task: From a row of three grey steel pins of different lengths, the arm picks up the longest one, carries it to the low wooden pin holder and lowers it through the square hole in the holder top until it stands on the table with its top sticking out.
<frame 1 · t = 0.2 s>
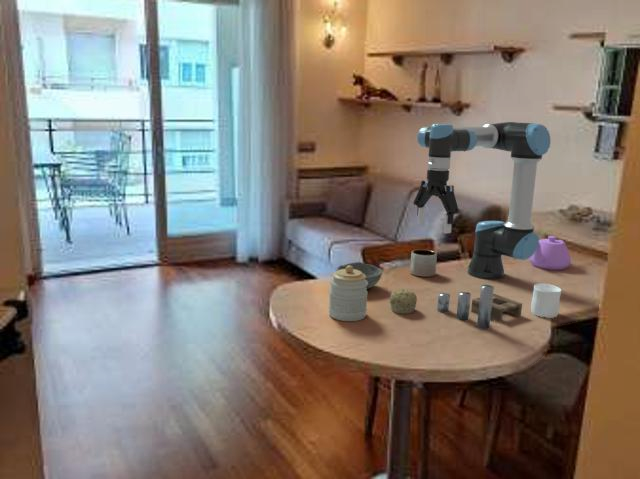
hand: (433, 229, 210), 28 cm above the table, fingers open, 13 cm apart
teapot: (547, 266, 271), on the table
long pin: (483, 327, 195), on the table
short pin: (442, 310, 210), on the table
decorative item: (402, 310, 209), on the table
cup: (543, 314, 210), on the table
medium pin: (462, 318, 203), on the table
wooden pin holder: (495, 313, 208), on the table
planter: (422, 274, 253), on the table
bowl: (358, 288, 232), on the table
jar: (347, 315, 202), on the table
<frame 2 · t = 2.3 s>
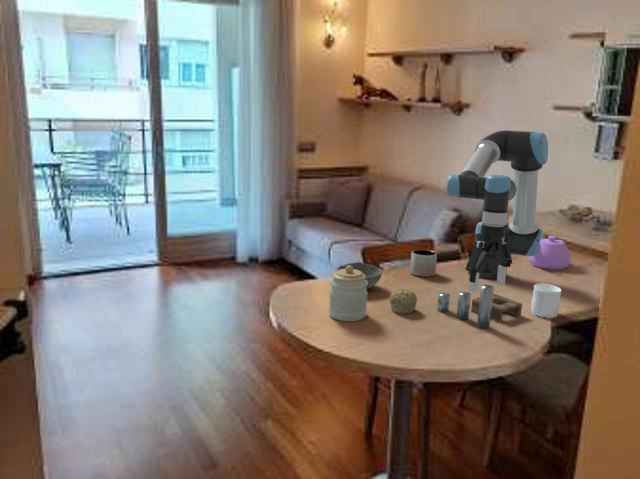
hand: (487, 288, 192), 13 cm above the table, fingers open, 13 cm apart
nothing on the table moved.
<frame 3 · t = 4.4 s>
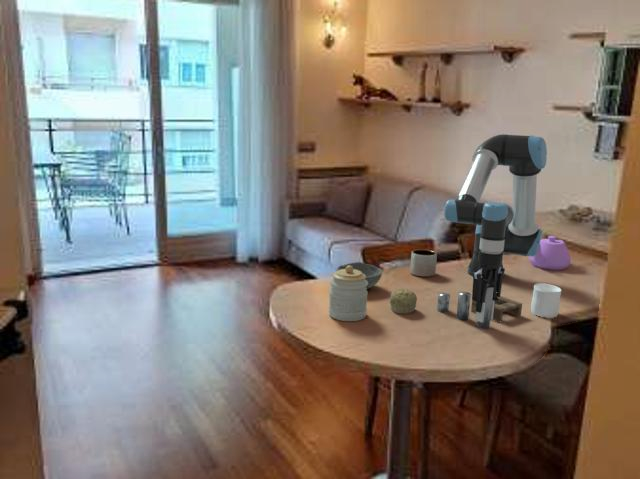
hand: (484, 319, 195), 3 cm above the table, fingers closed on long pin, 4 cm apart
long pin: (483, 326, 195), on the table, touching gripper
everything else where it was.
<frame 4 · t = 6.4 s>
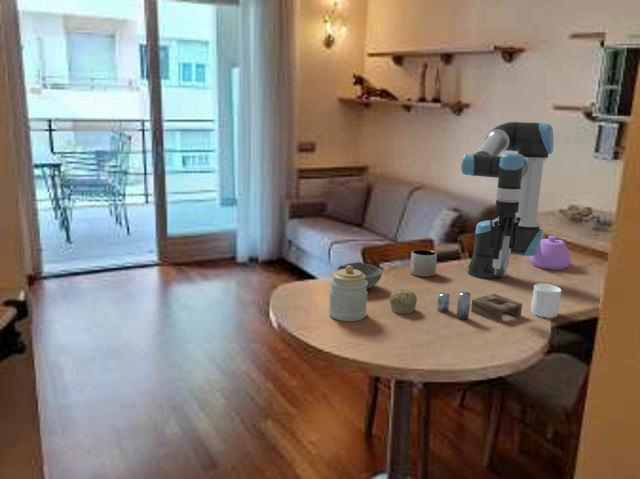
hand: (500, 266, 204), 17 cm above the table, fingers closed on long pin, 4 cm apart
long pin: (499, 274, 205), point 14 cm above the table, touching gripper
everything else where it was.
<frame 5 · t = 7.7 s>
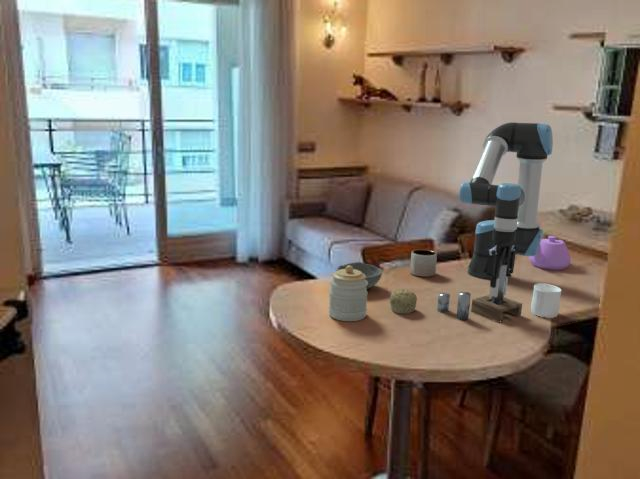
hand: (497, 294, 206), 7 cm above the table, fingers closed on long pin, 4 cm apart
long pin: (496, 302, 207), point 4 cm above the table, touching gripper
everything else where it was.
when the fingers open (6 cm above the table, at t = 8.5 s): long pin drops 3 cm, on the table.
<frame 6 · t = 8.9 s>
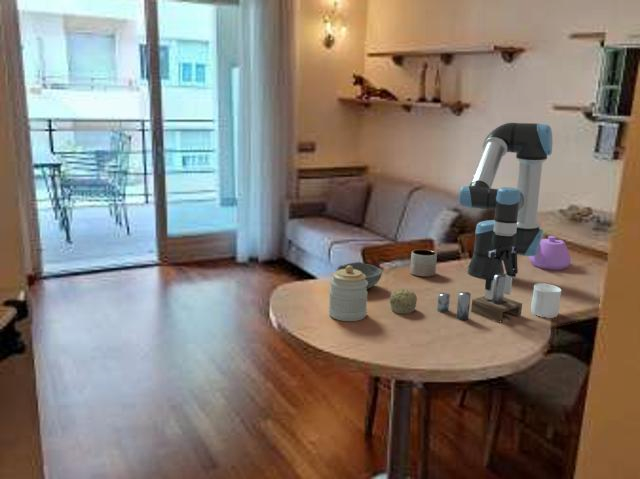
hand: (497, 296, 207), 7 cm above the table, fingers open, 9 cm apart
long pin: (495, 313, 208), on the table
everything else where it was.
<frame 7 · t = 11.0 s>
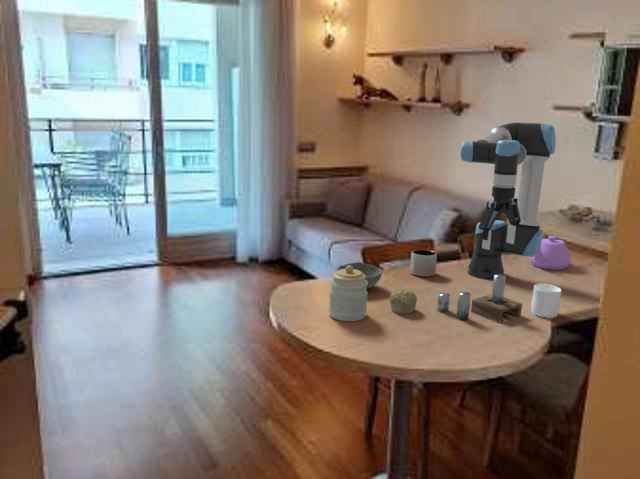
hand: (498, 245, 208), 23 cm above the table, fingers open, 13 cm apart
nothing on the table moved.
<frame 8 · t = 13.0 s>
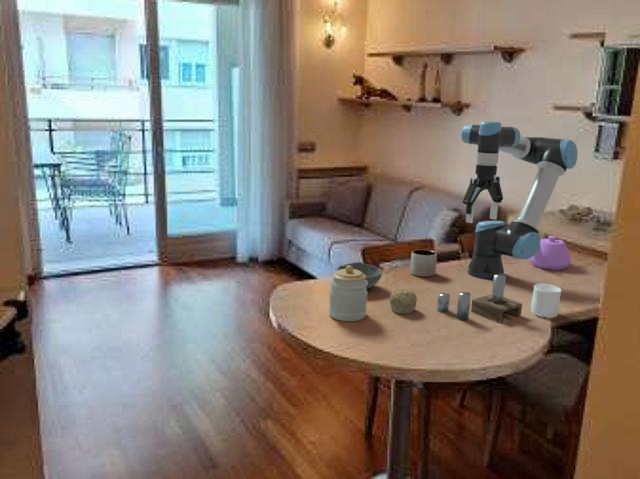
hand: (481, 220, 223), 29 cm above the table, fingers open, 13 cm apart
nothing on the table moved.
at the end: long pin 0.1 cm off-centre on the wooden pin holder, point 0.0 cm above the wooden pin holder's base; long pin tilted 0°; the gripper is holding nothing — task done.
